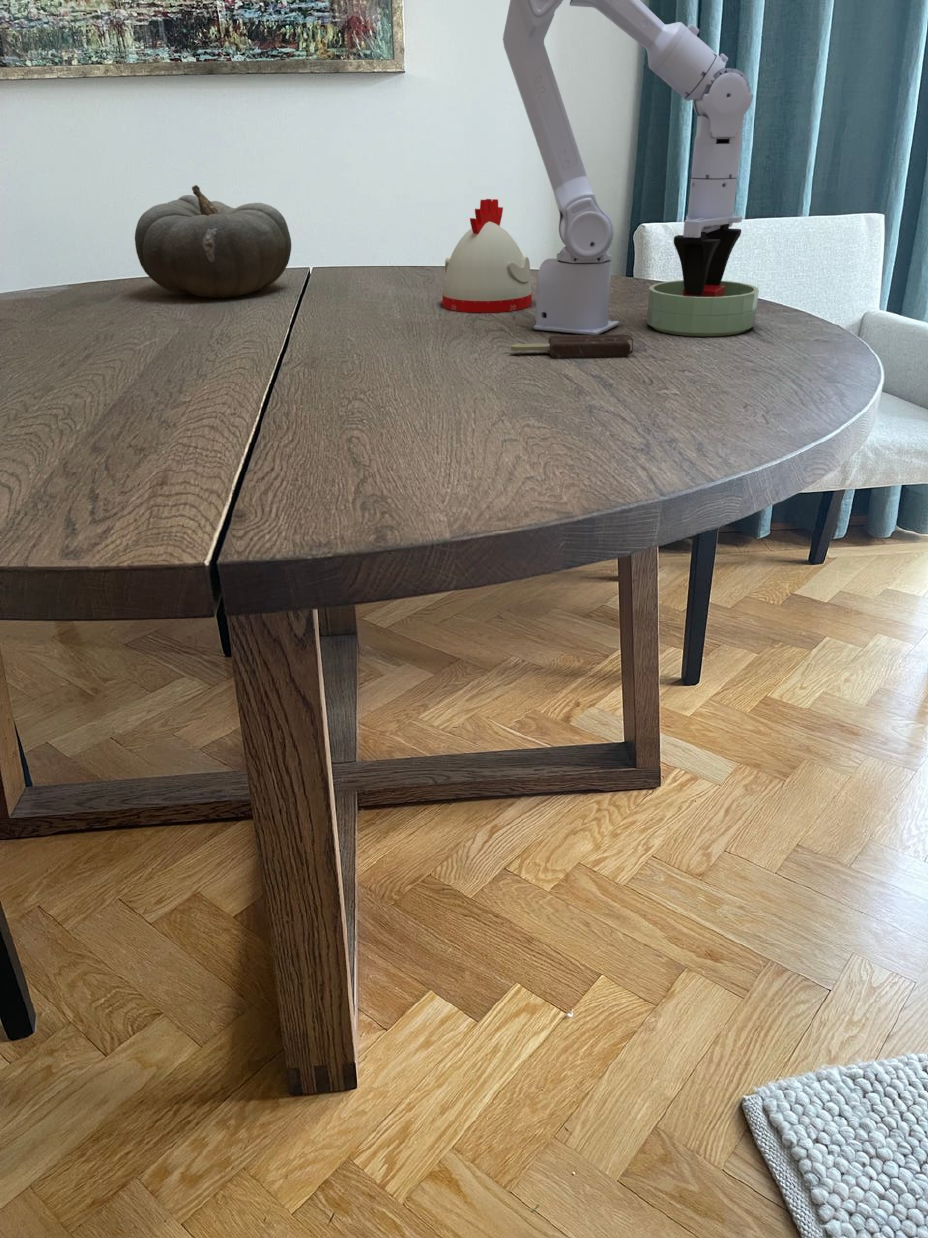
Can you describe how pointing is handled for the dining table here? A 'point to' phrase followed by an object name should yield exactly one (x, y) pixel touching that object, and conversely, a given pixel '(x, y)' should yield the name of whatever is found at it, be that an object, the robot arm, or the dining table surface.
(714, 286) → the red cube
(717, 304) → the bowl
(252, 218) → the gourd
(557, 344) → the ice cream bar
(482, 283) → the kitchen timer
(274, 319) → the dining table surface
